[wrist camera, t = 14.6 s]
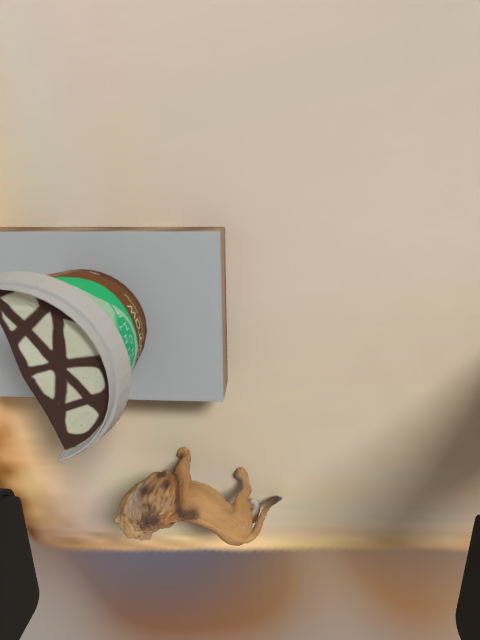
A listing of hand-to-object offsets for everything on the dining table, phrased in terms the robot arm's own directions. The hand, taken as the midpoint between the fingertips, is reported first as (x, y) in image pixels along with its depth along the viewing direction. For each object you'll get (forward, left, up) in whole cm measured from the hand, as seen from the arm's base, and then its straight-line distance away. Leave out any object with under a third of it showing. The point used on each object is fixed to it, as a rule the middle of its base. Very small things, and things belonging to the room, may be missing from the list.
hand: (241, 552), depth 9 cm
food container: (+11, +3, -24) cm, 27 cm away
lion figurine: (+5, +21, -29) cm, 36 cm away
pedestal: (+13, +3, -28) cm, 31 cm away
